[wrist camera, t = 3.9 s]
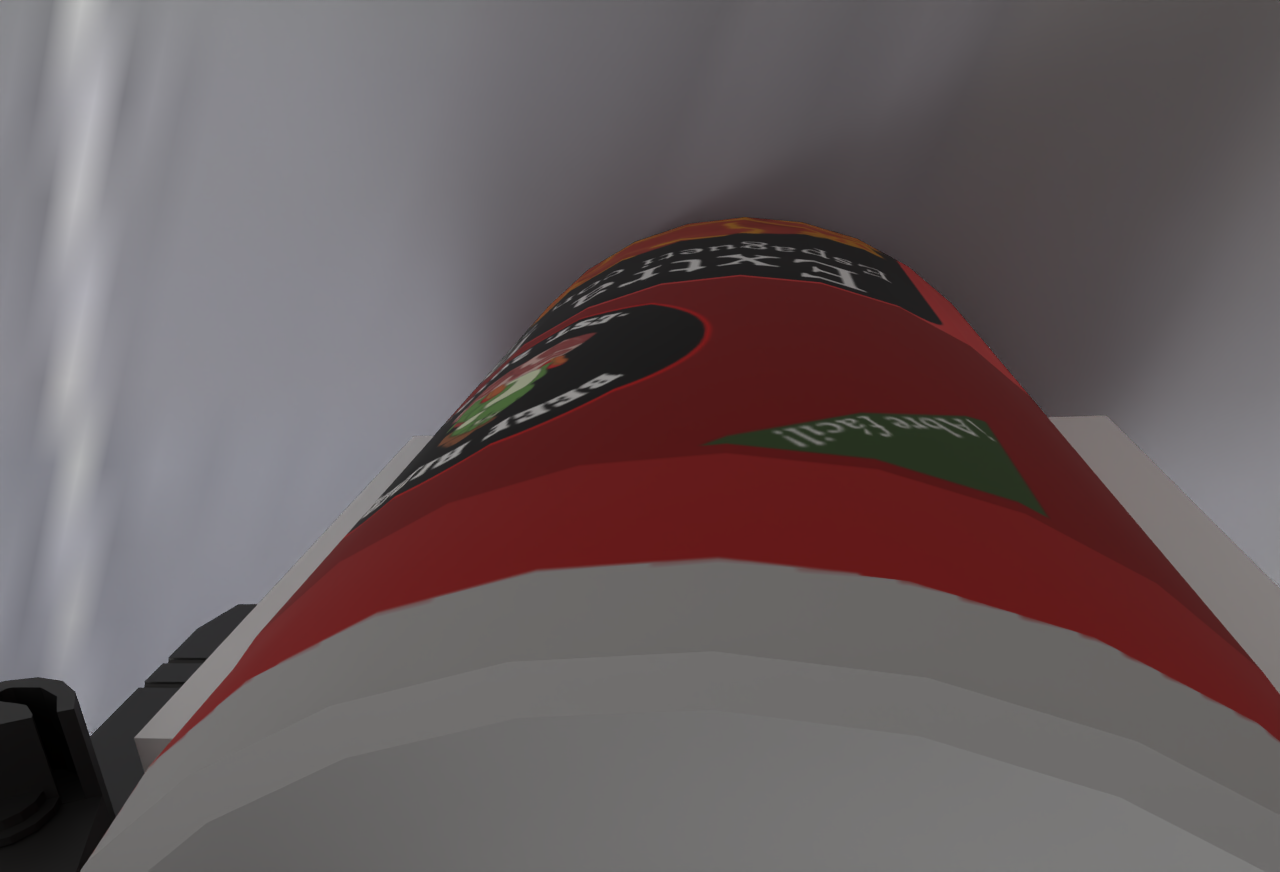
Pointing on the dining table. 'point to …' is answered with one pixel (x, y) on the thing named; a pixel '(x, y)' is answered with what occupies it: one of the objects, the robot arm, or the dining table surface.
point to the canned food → (732, 617)
